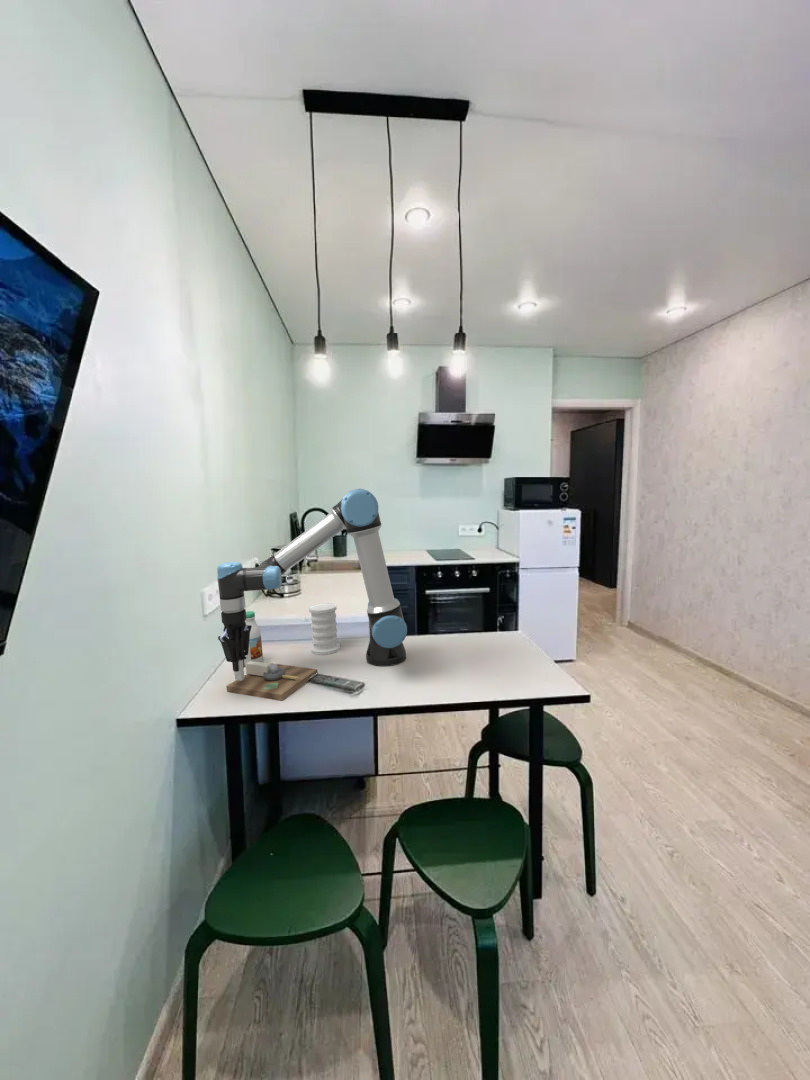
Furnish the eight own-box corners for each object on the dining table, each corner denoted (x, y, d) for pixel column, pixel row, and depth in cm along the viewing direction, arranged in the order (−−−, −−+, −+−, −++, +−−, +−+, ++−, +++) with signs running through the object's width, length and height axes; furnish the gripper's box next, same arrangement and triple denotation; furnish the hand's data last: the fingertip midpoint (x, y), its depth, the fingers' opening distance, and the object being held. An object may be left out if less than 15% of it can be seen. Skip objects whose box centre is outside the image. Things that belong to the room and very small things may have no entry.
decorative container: (337, 654, 172) (334, 610, 170) (308, 655, 172) (305, 611, 170) (342, 644, 183) (339, 602, 181) (314, 645, 183) (311, 603, 181)
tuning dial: (304, 675, 147) (303, 664, 147) (291, 683, 141) (290, 672, 141) (255, 668, 155) (254, 658, 155) (241, 676, 149) (240, 665, 148)
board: (317, 674, 153) (317, 668, 153) (281, 700, 135) (281, 694, 135) (267, 667, 162) (266, 662, 161) (226, 691, 143) (226, 685, 143)
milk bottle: (243, 669, 161) (238, 616, 159) (240, 662, 168) (236, 611, 166) (264, 664, 165) (260, 613, 163) (261, 658, 172) (257, 608, 169)
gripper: (238, 604, 149) (244, 670, 152) (208, 614, 137) (216, 686, 140) (256, 605, 146) (262, 672, 149) (227, 616, 134) (234, 689, 137)
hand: (239, 679), depth 144 cm, fingers closed
